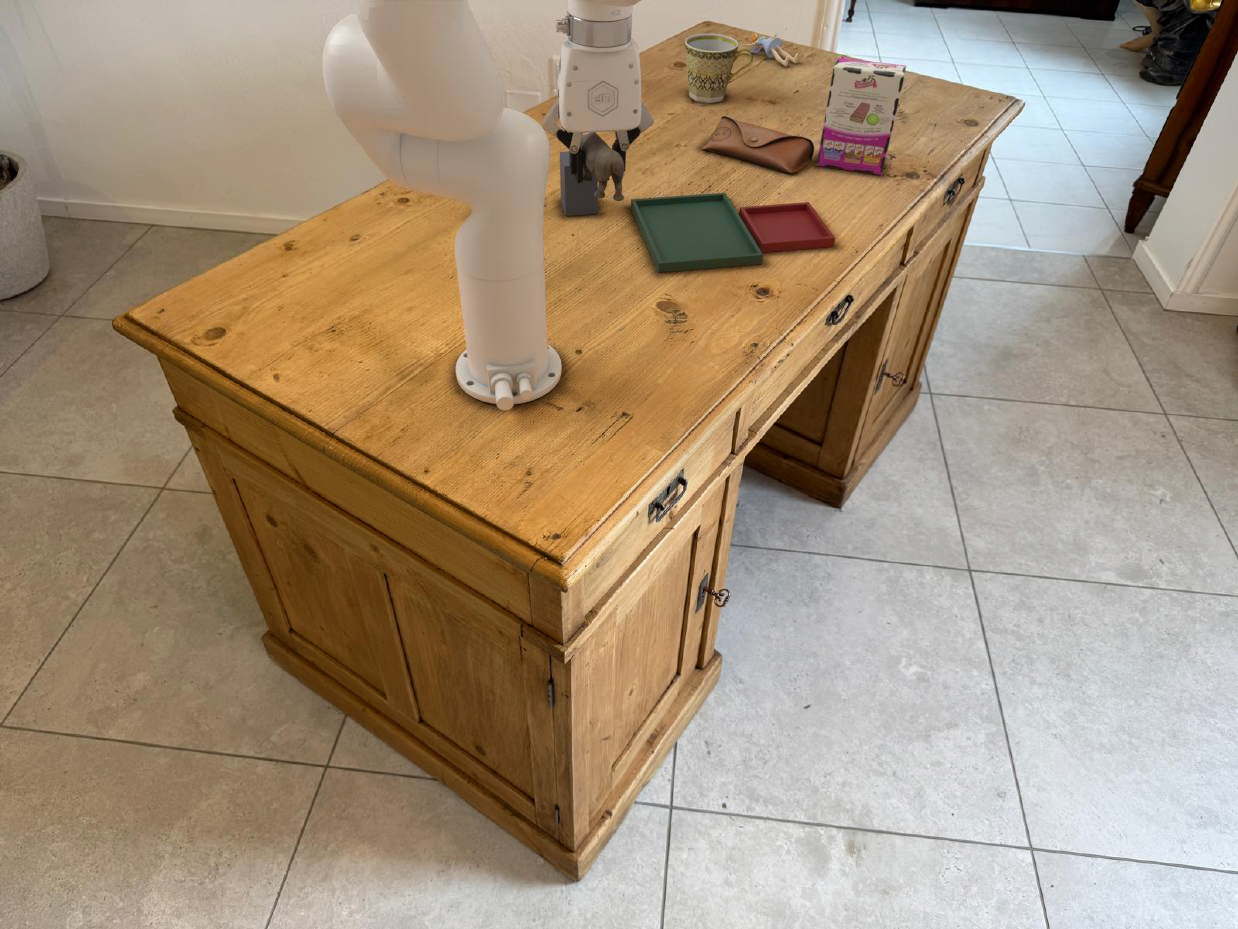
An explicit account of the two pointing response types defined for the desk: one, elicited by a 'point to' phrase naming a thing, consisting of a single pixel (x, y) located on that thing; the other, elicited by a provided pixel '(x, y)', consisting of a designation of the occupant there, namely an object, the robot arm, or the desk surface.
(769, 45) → the fairy figurine
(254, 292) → the desk surface
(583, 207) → the block
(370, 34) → the robot arm
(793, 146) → the sunglasses case
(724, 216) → the green tray
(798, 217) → the burgundy tray
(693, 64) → the ceramic cup
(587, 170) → the rhino figurine
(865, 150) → the candy bar box
